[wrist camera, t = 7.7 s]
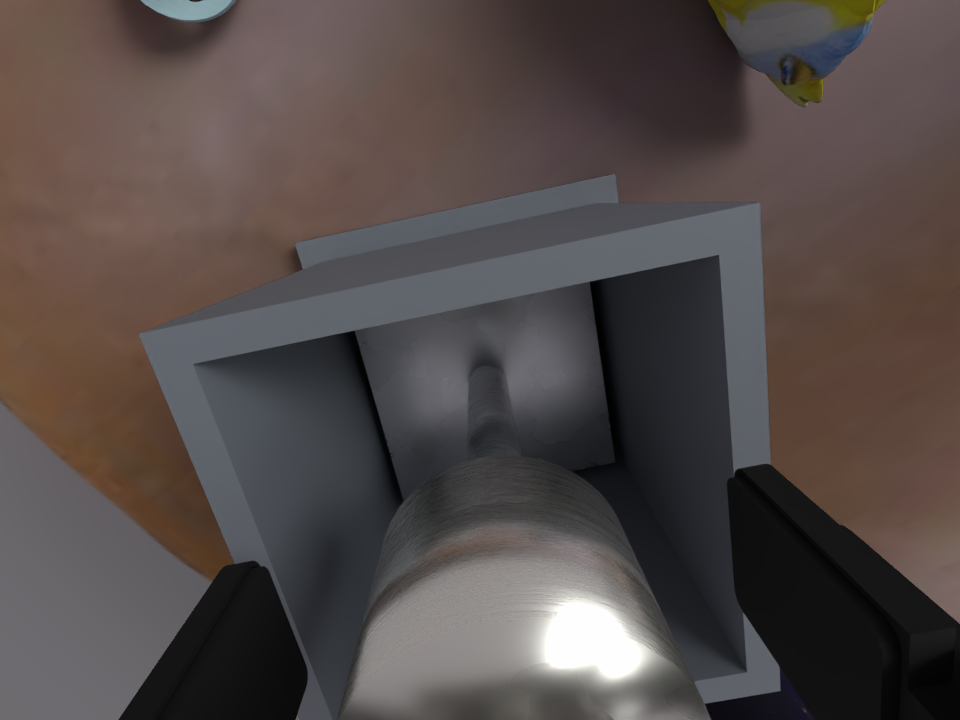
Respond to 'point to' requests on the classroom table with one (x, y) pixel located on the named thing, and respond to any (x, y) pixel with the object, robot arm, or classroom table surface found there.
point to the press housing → (463, 283)
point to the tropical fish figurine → (796, 38)
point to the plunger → (506, 530)
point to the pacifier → (190, 9)
